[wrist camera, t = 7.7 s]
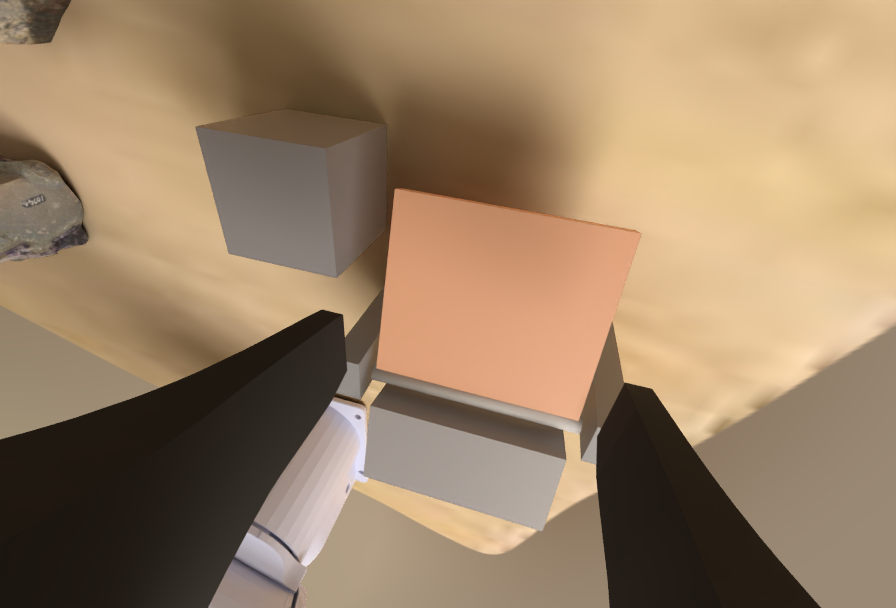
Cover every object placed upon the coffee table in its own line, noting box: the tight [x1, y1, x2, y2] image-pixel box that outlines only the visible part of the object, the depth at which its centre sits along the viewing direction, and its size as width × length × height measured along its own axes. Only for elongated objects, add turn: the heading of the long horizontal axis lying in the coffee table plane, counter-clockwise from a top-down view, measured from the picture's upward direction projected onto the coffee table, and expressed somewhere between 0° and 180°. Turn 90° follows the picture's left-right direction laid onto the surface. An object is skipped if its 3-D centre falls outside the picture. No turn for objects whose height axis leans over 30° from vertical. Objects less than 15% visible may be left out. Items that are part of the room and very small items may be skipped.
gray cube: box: [195, 109, 387, 278], centre depth 16 cm, size 5×5×5 cm
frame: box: [336, 287, 624, 464], centre depth 17 cm, size 2×11×7 cm, turn 84°
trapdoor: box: [363, 188, 641, 531], centre depth 15 cm, size 12×8×2 cm
